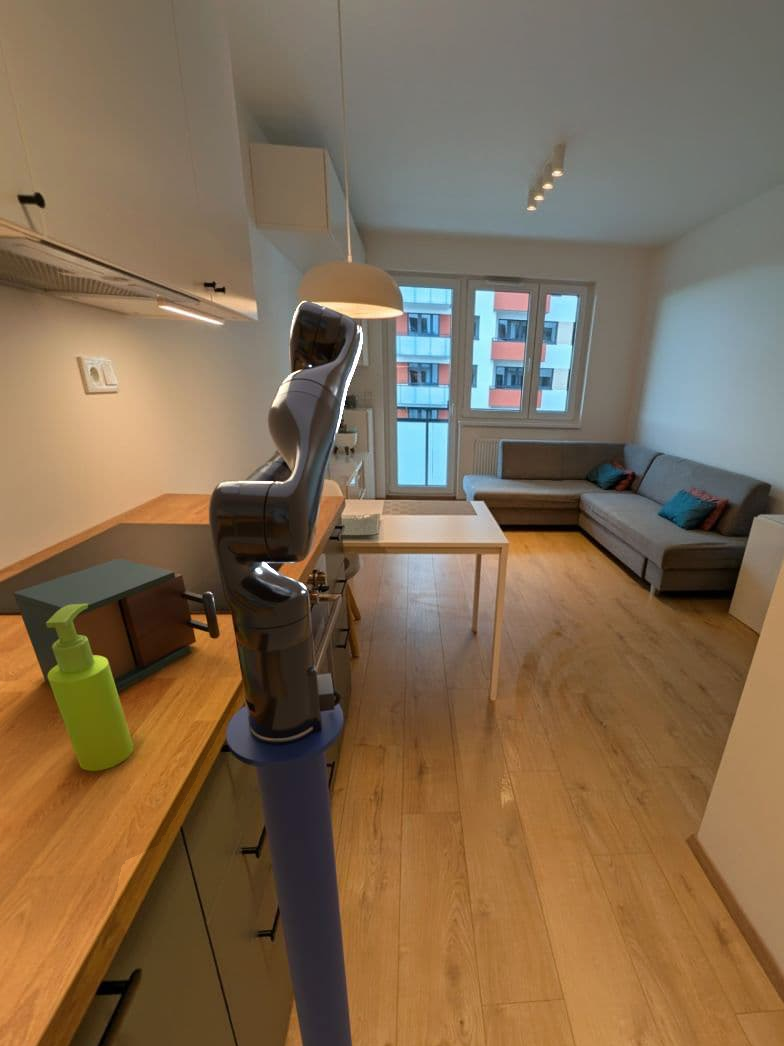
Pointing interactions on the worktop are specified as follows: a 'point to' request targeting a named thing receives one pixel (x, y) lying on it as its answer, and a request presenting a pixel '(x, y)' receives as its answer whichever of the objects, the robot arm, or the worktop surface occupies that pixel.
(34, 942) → the worktop surface
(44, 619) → the cabinet
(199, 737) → the worktop surface
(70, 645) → the soap dispenser
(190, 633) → the sliding door
